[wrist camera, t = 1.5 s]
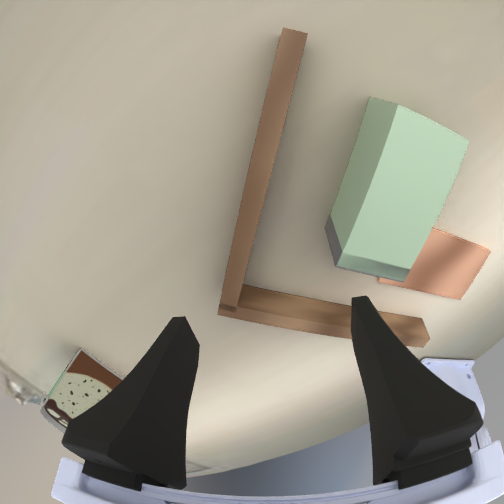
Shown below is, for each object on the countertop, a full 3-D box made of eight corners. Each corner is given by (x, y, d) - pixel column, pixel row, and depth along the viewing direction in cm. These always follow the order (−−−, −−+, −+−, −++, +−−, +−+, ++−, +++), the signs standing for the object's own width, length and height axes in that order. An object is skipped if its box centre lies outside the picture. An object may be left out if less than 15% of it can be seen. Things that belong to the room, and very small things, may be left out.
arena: (530, 157, 14) (550, 169, 12) (435, 330, 24) (443, 349, 22) (281, 34, 13) (282, 27, 11) (222, 292, 23) (217, 314, 21)
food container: (57, 351, 32) (27, 409, 24) (71, 339, 30) (37, 405, 22) (125, 400, 37) (105, 457, 29) (147, 394, 35) (127, 458, 26)
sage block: (431, 123, 15) (469, 141, 11) (383, 242, 20) (403, 282, 16) (369, 96, 15) (397, 104, 11) (324, 227, 20) (335, 267, 16)
